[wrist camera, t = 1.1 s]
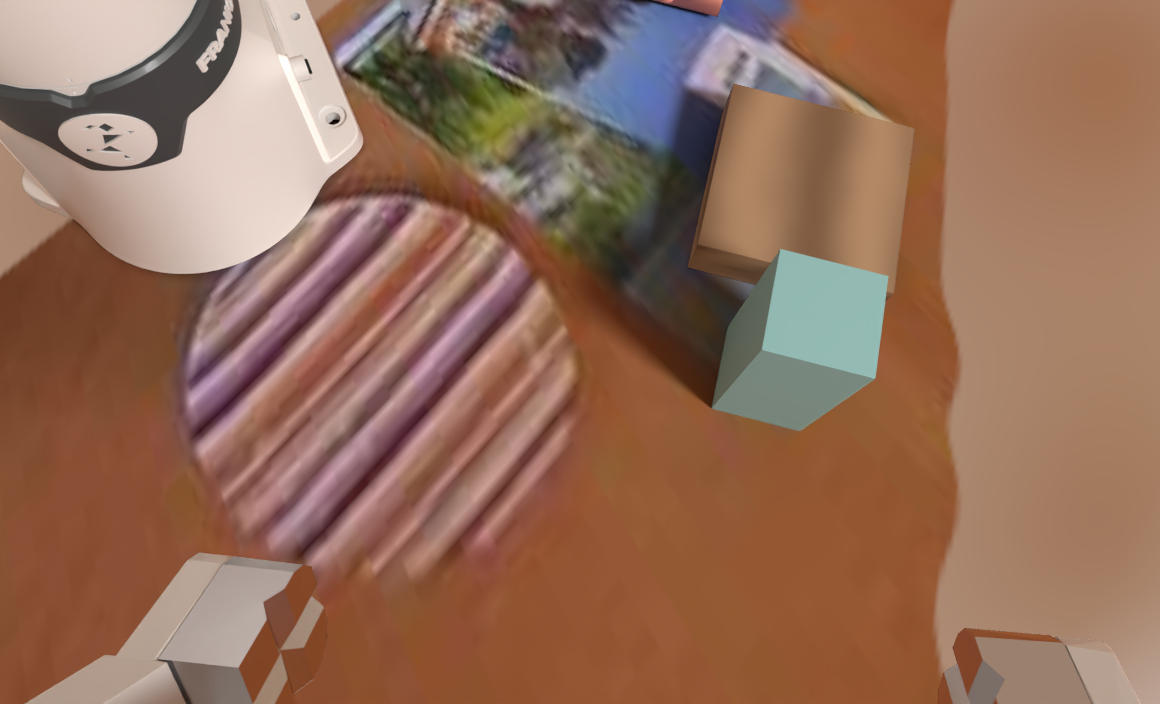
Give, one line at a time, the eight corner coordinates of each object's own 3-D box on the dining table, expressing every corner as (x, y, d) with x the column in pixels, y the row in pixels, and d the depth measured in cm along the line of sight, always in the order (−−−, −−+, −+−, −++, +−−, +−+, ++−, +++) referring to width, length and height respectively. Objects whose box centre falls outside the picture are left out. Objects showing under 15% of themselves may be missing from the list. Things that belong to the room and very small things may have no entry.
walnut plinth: (687, 267, 46) (697, 244, 43) (721, 114, 49) (733, 83, 47) (871, 313, 46) (893, 293, 43) (892, 156, 49) (914, 128, 46)
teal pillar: (711, 408, 43) (761, 349, 34) (727, 326, 45) (780, 248, 35) (799, 431, 43) (875, 378, 34) (813, 348, 45) (888, 276, 35)
